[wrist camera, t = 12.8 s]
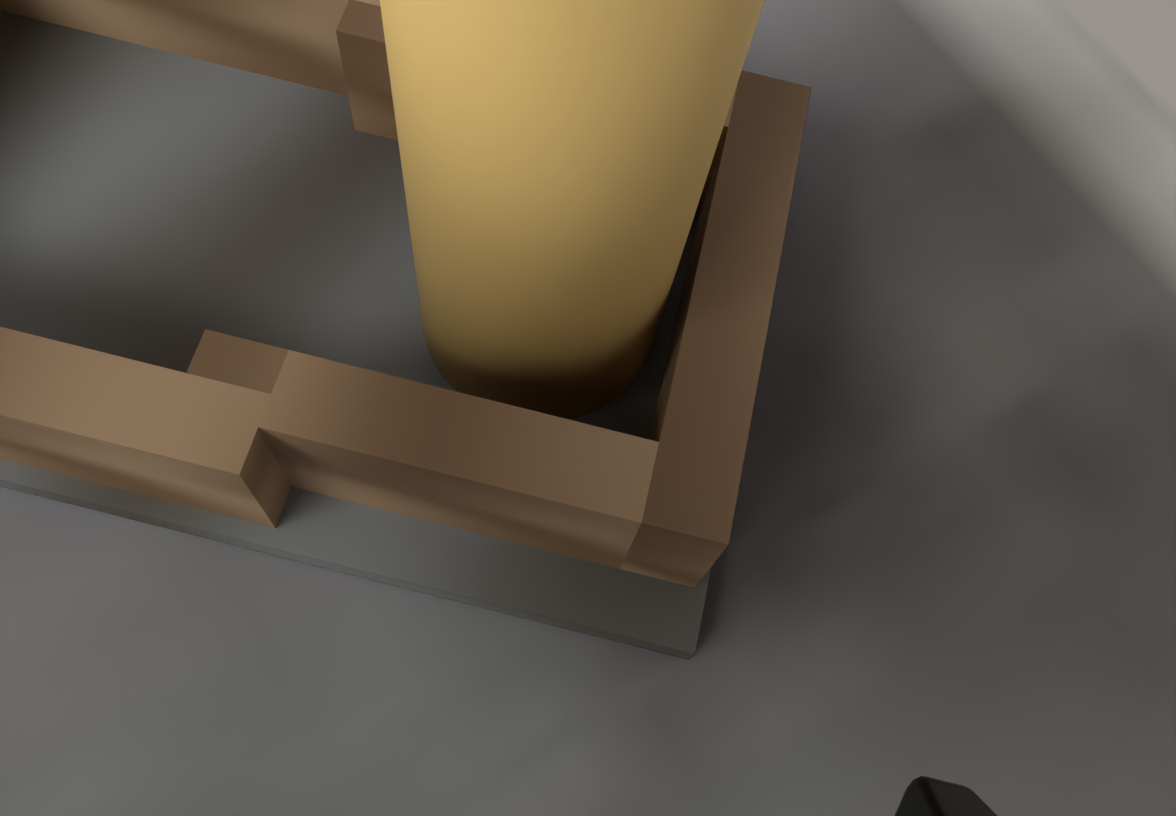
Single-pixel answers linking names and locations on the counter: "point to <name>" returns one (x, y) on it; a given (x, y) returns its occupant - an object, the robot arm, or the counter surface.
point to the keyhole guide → (342, 324)
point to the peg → (555, 179)
